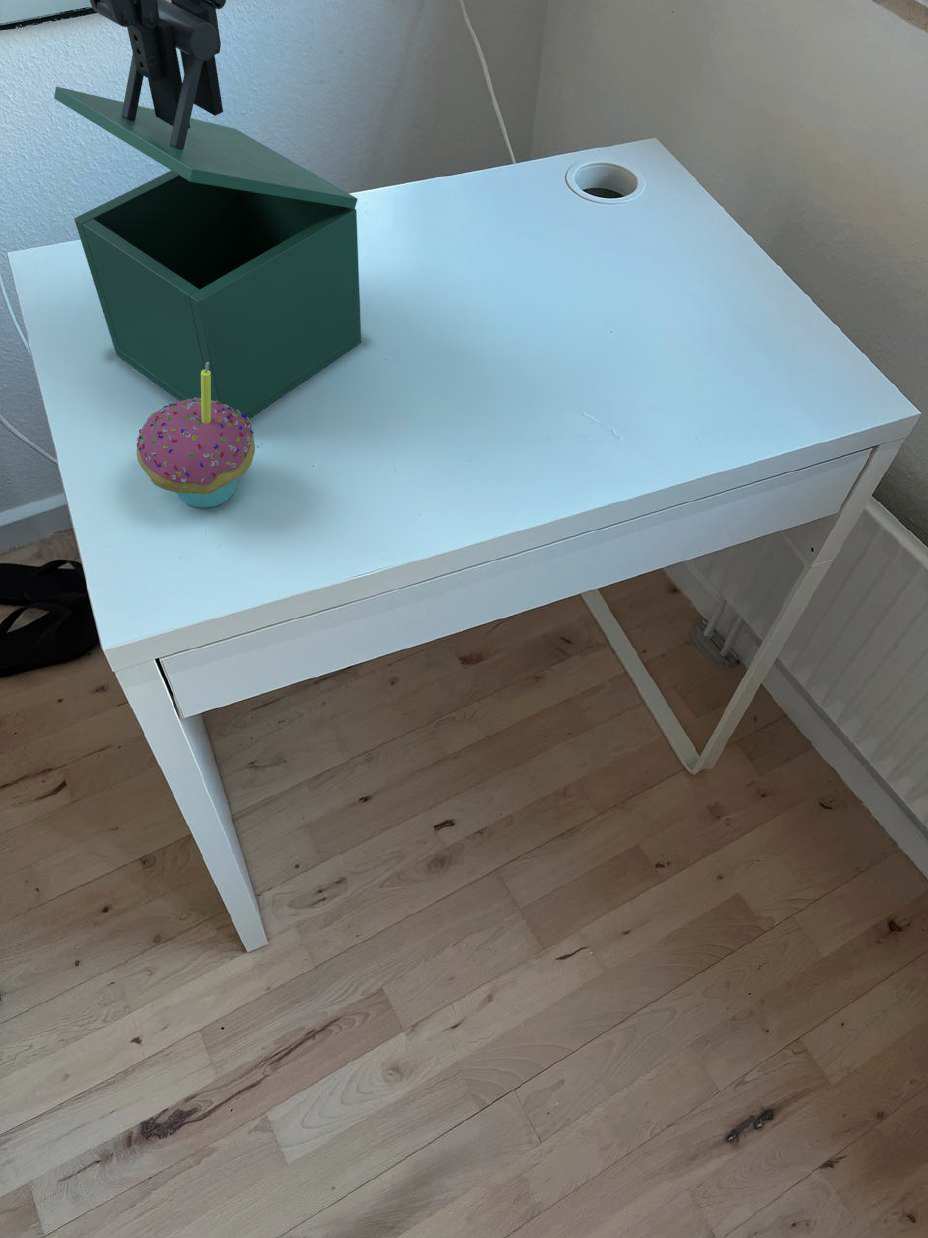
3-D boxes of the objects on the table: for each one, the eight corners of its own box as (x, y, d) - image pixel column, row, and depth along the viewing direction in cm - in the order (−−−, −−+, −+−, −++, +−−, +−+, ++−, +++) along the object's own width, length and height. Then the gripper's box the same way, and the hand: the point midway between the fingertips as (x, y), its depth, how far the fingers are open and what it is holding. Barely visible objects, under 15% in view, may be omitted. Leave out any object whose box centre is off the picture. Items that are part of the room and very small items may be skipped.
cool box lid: (190, 181, 60) (222, 35, 55) (53, 98, 64) (74, -43, 60) (355, 208, 73) (391, 93, 69) (232, 138, 78) (259, 25, 74)
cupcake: (250, 438, 77) (228, 317, 67) (271, 515, 72) (251, 398, 62) (142, 458, 75) (104, 336, 65) (157, 539, 70) (118, 421, 60)
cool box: (225, 435, 77) (198, 301, 66) (116, 355, 81) (73, 217, 71) (361, 342, 84) (356, 209, 73) (254, 273, 89) (234, 138, 78)
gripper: (11, -334, 41) (135, 179, 60) (271, -376, 48) (307, 95, 67) (-87, -371, 43) (63, 133, 63) (174, -406, 50) (236, 57, 70)
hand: (189, 113), depth 65 cm, fingers closed on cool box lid, 2 cm apart
